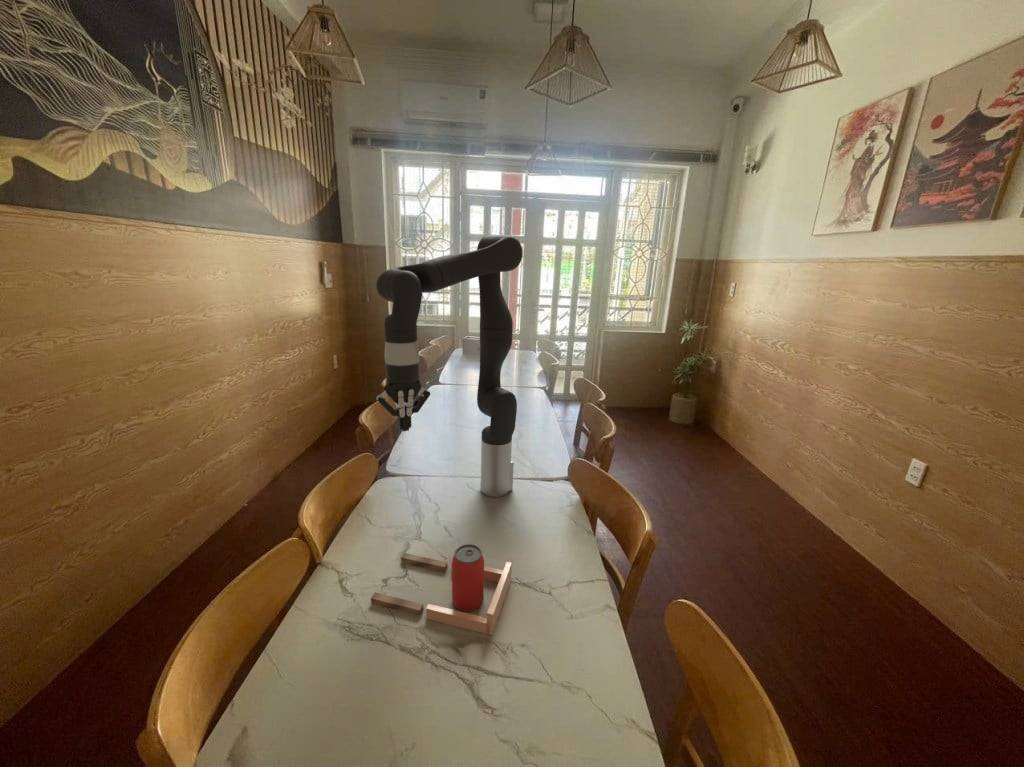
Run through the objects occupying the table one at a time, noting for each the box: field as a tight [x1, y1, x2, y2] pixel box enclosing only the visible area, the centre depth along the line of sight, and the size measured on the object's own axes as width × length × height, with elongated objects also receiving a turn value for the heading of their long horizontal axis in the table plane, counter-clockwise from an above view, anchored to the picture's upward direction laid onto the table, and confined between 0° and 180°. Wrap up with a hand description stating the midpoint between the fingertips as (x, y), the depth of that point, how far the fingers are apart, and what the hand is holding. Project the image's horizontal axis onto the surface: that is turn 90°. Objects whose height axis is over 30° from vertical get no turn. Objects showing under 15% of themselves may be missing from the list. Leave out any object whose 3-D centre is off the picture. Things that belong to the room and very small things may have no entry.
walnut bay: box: [370, 552, 449, 617], centre depth 90 cm, size 11×14×2 cm
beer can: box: [451, 543, 485, 612], centre depth 85 cm, size 7×7×12 cm
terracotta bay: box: [425, 561, 513, 636], centre depth 86 cm, size 14×14×5 cm
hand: (405, 429), depth 99 cm, fingers closed
